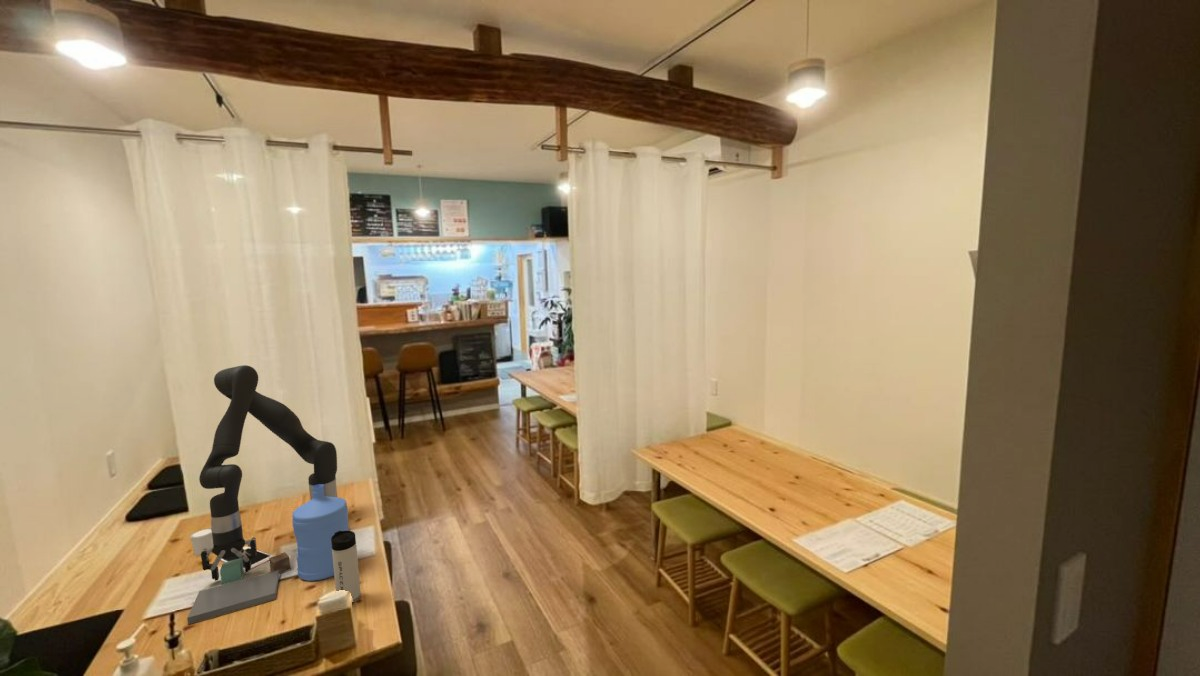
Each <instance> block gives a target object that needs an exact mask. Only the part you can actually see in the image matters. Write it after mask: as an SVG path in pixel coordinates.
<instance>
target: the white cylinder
mask: <svg viewBox="0 0 1200 676" xmlns="http://www.w3.org/2000/svg"><path fill="white" fill-rule="evenodd" d="M189 537H190V542H191V546H192V550H193V554H194V556H198V557H201V553H202V551H203V549H211V548H213V538H212V530H211V527H209V528H203V529H200V530H197V531H195V532H193V533H191V535H189Z"/></svg>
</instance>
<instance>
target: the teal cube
mask: <svg viewBox="0 0 1200 676" xmlns="http://www.w3.org/2000/svg"><path fill="white" fill-rule="evenodd" d="M244 573H245V571H244V569H243V560H242V558H240V559H236V560H232V561H227V562H222V565H221V566H220V570H219V575H220V581H221V585H224V584H228V583H232V582H236V581H240V580H243V576H244Z"/></svg>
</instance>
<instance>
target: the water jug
mask: <svg viewBox="0 0 1200 676" xmlns="http://www.w3.org/2000/svg"><path fill="white" fill-rule="evenodd" d="M323 486H324V485H323V484H318V485H315V486H313V487H312V488H313V496H314V498H313V499H312V500H310V499H309V501H306V502H305V503H303V504H301V505H300V506H298V507H297V508H296V509H294V510H293V513H292V515H291V516H292V519H291V520H292V521H291V522H292V527H293V534H294V536H295V539H296V548H297V553H296V564H297V567H296V572H297V576H298V577H299V578H300V579H301V580H304V581H310V582H311V581H313V582H315V581H321V580H324V579H328V578H331V577H333V576H334V567H333V556H332V543H331V538H332V536H333V535H334V533H335V532H338V531H340V530H341V531H351V530H350V525H349V508H348V503H347V501H346V499H344V498H342V497H339V496H338V497H327V496H325V495H324V489H323Z"/></svg>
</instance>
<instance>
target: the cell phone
mask: <svg viewBox="0 0 1200 676" xmlns="http://www.w3.org/2000/svg"><path fill="white" fill-rule="evenodd" d="M243 549H244V550H245V551H246V552H247V553H248V554H251V547H248V545H247V546H246V545H244V547H243ZM273 556H274V555H272V554H268V553H266V552H263V551H260V550H258V549H257V554H256V557H255V558H252V559H251V569H250V570H249V572H250V571H252V570H254V569H256V568H258V567H260V566H262V565H264V564H266V563H268V562H269V558H271V557H273ZM236 559H240V558H239V557H238V556H236V557H229V558H227V559H221V560H220V562H222V563H223V562H227V561H232V560H236ZM242 560H243V559H242ZM244 562H245V561H244V560H243V569H244V572H245V564H244Z"/></svg>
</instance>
